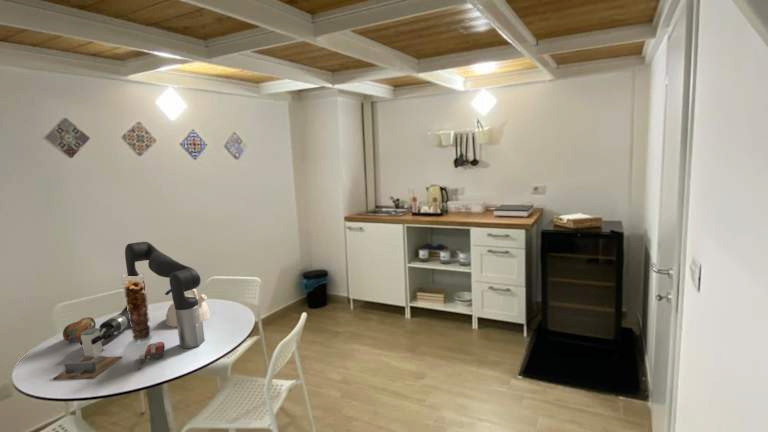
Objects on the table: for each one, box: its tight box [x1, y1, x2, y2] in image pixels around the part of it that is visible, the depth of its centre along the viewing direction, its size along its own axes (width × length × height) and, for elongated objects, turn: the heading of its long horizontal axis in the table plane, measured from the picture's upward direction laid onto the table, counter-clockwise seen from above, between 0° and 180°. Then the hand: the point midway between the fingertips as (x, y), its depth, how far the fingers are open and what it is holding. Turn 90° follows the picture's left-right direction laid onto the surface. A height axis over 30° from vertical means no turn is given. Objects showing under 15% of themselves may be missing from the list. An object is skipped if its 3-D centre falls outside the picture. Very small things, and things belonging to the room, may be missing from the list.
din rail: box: [71, 355, 107, 376], centre depth 168 cm, size 4×14×1 cm, turn 177°
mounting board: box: [53, 355, 123, 380], centre depth 168 cm, size 16×16×1 cm
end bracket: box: [64, 361, 96, 374], centre depth 163 cm, size 11×2×4 cm, turn 88°
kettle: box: [164, 288, 211, 328], centre depth 213 cm, size 20×21×18 cm
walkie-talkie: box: [137, 341, 165, 370], centre depth 174 cm, size 9×4×20 cm
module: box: [80, 327, 103, 357], centre depth 180 cm, size 4×5×10 cm
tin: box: [62, 316, 97, 343], centre depth 197 cm, size 15×3×8 cm, turn 168°
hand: (86, 342), depth 178 cm, fingers closed on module, 4 cm apart
